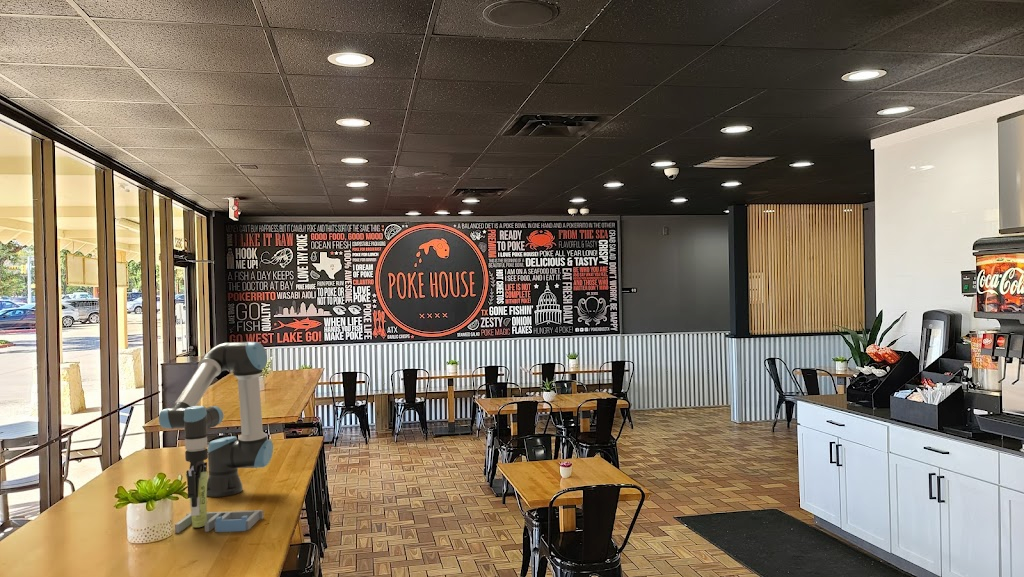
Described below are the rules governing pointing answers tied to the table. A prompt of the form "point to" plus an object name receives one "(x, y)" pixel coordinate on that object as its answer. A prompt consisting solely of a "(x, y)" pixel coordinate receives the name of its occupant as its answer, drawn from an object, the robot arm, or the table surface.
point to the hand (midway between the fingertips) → (198, 512)
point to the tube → (201, 501)
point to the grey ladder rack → (224, 521)
